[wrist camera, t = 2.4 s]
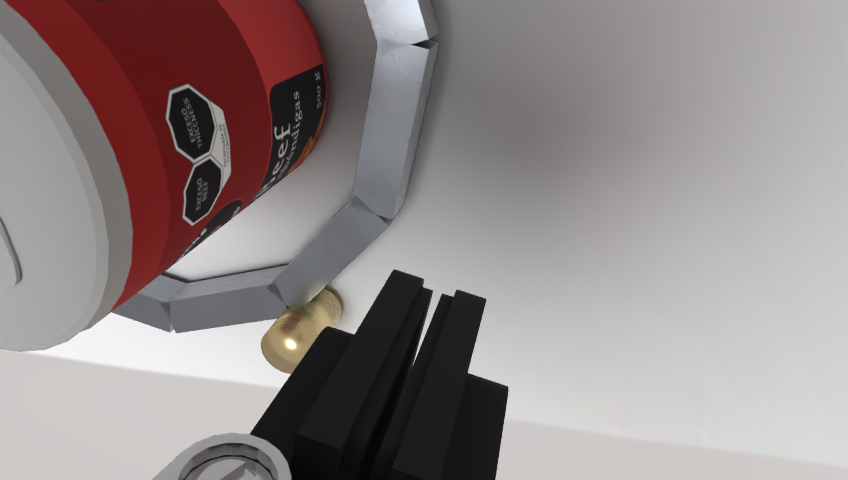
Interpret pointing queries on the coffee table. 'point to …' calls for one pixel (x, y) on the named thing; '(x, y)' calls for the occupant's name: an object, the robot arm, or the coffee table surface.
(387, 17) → the ring
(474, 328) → the robot arm
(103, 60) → the canned food
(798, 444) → the coffee table surface
